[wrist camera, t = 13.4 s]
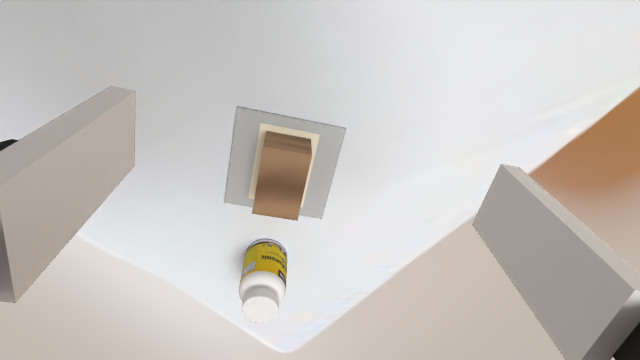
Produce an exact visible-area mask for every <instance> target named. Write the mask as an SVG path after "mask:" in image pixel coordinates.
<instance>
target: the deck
mask: <svg viewBox="0 0 640 360" xmlns="http://www.w3.org/2000/svg"><path fill="white" fill-rule="evenodd" d="M311 158H312V146H311V139H309V138H303V137H298V136H293V135H287V134H282V133H276V132H271V131H266V135H265V139H264V144H263V149H262V155H261V161H260V168H259V174H258V180H257V186H256V192H255V198H254V204H253V211H252V214H259V215H265V216H271V217H278V218H284V219H291V220H298V216H299V211H300V207H301V202H302V198H303V193H304V189H305V185H306V180H307V176H308V171H309V167H310V163H311Z"/></svg>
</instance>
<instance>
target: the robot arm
mask: <svg viewBox="0 0 640 360" xmlns="http://www.w3.org/2000/svg"><path fill="white" fill-rule="evenodd" d="M134 163H135V91H132V90H127V89H122V88H117V87H112V86H111V87H109V88H107V89H105V90H104V91H102V92H100V93H99V94H97V95H95V96H93V97H92V98H90V99H88V100H87V101H85V102H83V103H82V104H80V105H78V106H76V107H75V108H73V109H71V110H70V111H68V112H66V113H65V114H63V115H61V116H59V117H58V118H56V119H54V120H53V121H51V122H49V123H48V124H46V125H44V126H42V127H41V128H39V129H37V130H36V131H34V132H32V133H31V134H29V135H27V136H25V137H24V138H22V139H20V140H13V139H11V140H7V141H3V142H0V301H3V302H12V303H16V302H17V301H18V300H19V298H20V297H21V296H22V295H23V294H24V293H25V291H26V290H27V289H28V288H29V287H30V286H31V285H32V283H33V282H34V281H35V280H36V279H37V278H38V277H39V275H40V274H41V273H42V272H43V270H45V268H46V267H47V266H48V265H49V264H50V262H52V260H53V259H54V258H55V257H56V256H57V255H58V253H59V252H60V251H61V250H62V249H63V248H64V247H65V245H66V244H67V243H68V242H69V241H70V240H71V238H72V237H73V236H74V235H75V234H76V233H77V232H78V230H79V229H80V228H81V227H82V226H83V225H84V224H85V222H86V221H87V220H88V219H89V218H90V217H91V215H92V214H93V213H94V212H95V211H96V210H97V209H98V207H99V206H100V205H101V204H102V203H103V202H104V200H105V199H106V198H107V197H108V196H109V195H110V194H111V192H112V191H113V190H114V189H115V188H116V187H117V185H118V184H119V183H120V182H121V181H122V180H123V179H124V177H125V176H126V175H127V174H128V173H129V172H130V170H131V169H132V168H133V167H134ZM472 225H473V226H474V227H475V229H476V231H477V232H478V234H479V235H480V237H481V238H482V239H483V241H484V242H485V244H486V245H487V247H488V248H489V249H490V251H491V253H492V254H493V255H494V257H495V258H496V260H497V261H498V263H499V264H500V265H501V267H502V268H503V270H504V271H505V273H506V274H507V276H508V277H509V279H510V280H511V281H512V283H513V284H514V286H515V287H516V289H517V290H518V292H519V293H520V294H521V296H522V297H523V299H524V300H525V302H526V303H527V305H528V306H529V308H530V309H531V311H532V312H533V313H534V315H535V316H536V318H537V319H538V321H539V322H540V324H541V325H542V326H543V328H544V329H545V331H546V332H547V333H548V335H549V337H550V338H551V339H552V341H553V342H554V344H555V345H556V347H557V348H558V350H559V351H560V353H561V354H562V355H563V357H564V358H565V360H611V359H612V357H614V358H615V360H640V273H639V272H638V271H637V270H636V269H634V268H633V267H632V266H631V265H630V264H629V263H628V262H626V261H625V260H624V259H623V258H622V257H621V256H620V255H618V254H617V253H616V252H615V251H614V250H613V249H611V247H609V246H608V245H607V244H606V243H605V242H604V241H603V240H601V239H600V238H599V237H598V236H597V235H595V233H593V232H592V231H591V230H590V229H589V228H588V227H587V226H585V225H584V224H583V223H582V222H581V221H580V220H579V219H577V218H576V217H575V216H574V215H573V214H572V213H571V212H569V211H568V210H567V209H566V208H565V207H564V206H563V205H561V204H560V203H559V202H558V201H557V200H556V199H554V197H552V196H551V195H550V194H549V193H548V192H547V191H545V190H544V189H543V188H542V187H541V186H540V185H539V184H537V183H536V182H535V181H534V180H533V179H532V178H531V177H530V176H528V175H527V174H526V173H525V172H524V171H523V170H522V169H520V168H519V167H514V166H509V165H504V164H501V165H500V167H499V169H498V171H497V173H496V175H495V178H494V180H493V182H492V184H491V186H490V188H489V190H488V192H487V194H486V196H485V198H484V201H483V203H482V205H481V207H480V209H479V211H478V213H477V215H476V217H475V219H474V222H473V224H472Z"/></svg>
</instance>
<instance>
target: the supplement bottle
mask: <svg viewBox="0 0 640 360" xmlns="http://www.w3.org/2000/svg"><path fill="white" fill-rule="evenodd" d="M286 274H287V253H286V250H285V249H284V247H283V246H282V245H281V244H279V243H278V242H276V241H273V240H268V239H264V240H259V241H256V242H254V243H253V244H252V245H251V246H250V247H249V248H248V250H247V252H246V255H245V260H244V266H243V271H242V276H241V281H240V286H239V295H240V298H241V300H242V301H243V304H242V312H243V315H244V316H245V317H246V318H247V319H248V320H250V321H252V322H255V323H266V322H269V321H271V320H273V319H274V318H275V317H276V316H277V314H278V309H279V304H280V303H281V302H282V300H283V299H284V296H285V292H286Z"/></svg>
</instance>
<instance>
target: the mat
mask: <svg viewBox="0 0 640 360" xmlns="http://www.w3.org/2000/svg"><path fill="white" fill-rule="evenodd" d="M266 131H271V132H276V133H282V134H287V135H293V136H298V137H303V138H309V139H311V146H312V158H311V163H310V167H309V171H308V176H307V180H306V185H305V189H304V193H303V198H302V202H301V207H300V211H299V215H302V216H308V217H314V218H320V219H322V216H323V212H324V209H325V205H326V201H327V198H328V194H329V190H330V186H331V183H332V179H333V175H334V172H335V168H336V164H337V160H338V157H339V153H340V149H341V146H342V142H343V138H344V134H345V131H346V128H343V127H338V126H333V125H328V124H323V123H318V122H313V121H308V120H303V119H298V118H293V117H288V116H283V115H278V114H273V113H268V112H263V111H258V110H253V109H248V108H243V107H237V112H236V120H235V127H234V135H233V142H232V150H231V157H230V165H229V172H228V180H227V187H226V194H225V202H224V203H230V204H236V205H242V206H248V207H253V204H254V198H255V192H256V186H257V180H258V174H259V168H260V161H261V155H262V149H263V144H264V139H265V135H266Z"/></svg>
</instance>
